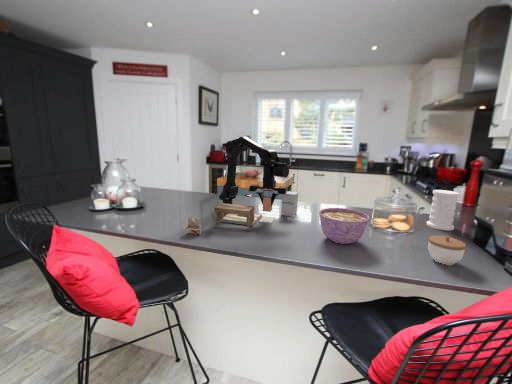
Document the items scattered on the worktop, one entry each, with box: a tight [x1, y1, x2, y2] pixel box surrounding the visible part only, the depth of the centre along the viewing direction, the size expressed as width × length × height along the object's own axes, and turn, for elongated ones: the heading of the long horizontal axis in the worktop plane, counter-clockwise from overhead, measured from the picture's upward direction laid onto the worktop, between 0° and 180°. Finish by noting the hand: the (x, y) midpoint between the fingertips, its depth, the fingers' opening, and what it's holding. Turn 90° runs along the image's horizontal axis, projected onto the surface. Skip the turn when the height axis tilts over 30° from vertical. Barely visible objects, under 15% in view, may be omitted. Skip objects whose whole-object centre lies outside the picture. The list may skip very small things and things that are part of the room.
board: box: [220, 212, 263, 226], centre depth 136 cm, size 16×17×2 cm
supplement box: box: [280, 190, 299, 217], centre depth 145 cm, size 7×7×13 cm
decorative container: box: [426, 189, 460, 231], centre depth 131 cm, size 12×12×18 cm
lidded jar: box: [427, 235, 467, 266], centre depth 93 cm, size 11×11×9 cm
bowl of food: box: [318, 207, 370, 245], centre depth 110 cm, size 20×20×12 cm
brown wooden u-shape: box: [213, 202, 256, 228], centre depth 124 cm, size 9×17×7 cm, turn 74°
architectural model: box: [182, 217, 202, 236], centre depth 112 cm, size 3×7×7 cm, turn 86°
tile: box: [258, 215, 276, 225], centre depth 134 cm, size 9×6×1 cm
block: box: [262, 195, 273, 213], centre depth 133 cm, size 4×4×7 cm
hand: (267, 205), depth 133 cm, fingers closed on block, 4 cm apart
